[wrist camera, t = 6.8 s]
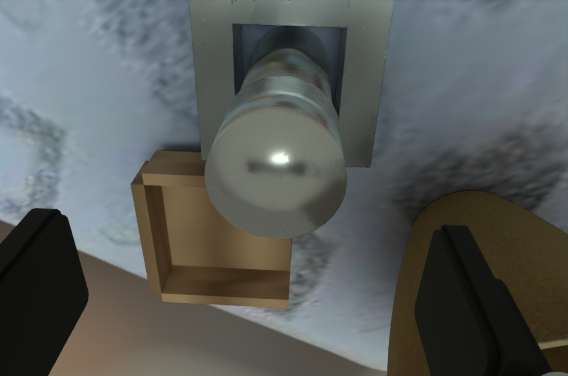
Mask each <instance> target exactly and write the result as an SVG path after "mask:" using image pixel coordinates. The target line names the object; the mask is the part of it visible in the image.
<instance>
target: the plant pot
mask: <svg viewBox="0 0 568 376" xmlns="http://www.w3.org/2000/svg"><path fill="white" fill-rule="evenodd" d="M444 224H446V225H466V226H468V228H469V229H470V231H471V233H472V235H473V237H474V239H475V241H476V243H477V244H478V246H479V248H480V250H481V252H482V254H483V256H484V258H485V260H486V262H487V264H488V265H489V267H490V269H491V271H492V273H493V275H494V277H495V279H500V280H502V281H503V282H504V283H505V285H506V286H507V288H508V290H509V292H510V293H511V295H512V297H513V299H514V301H515V303H516V304H517V306H518V308H519V310H520V312H521V314H522V316H523V317H524V319H525V321H526V323H527V325H528V327H529V328H530V330H531V332H532V334H533V336H534V338H535V340H536V341H537V343H538V345H539V347H540V349H541V351H542V352H543V354H544V356H545V358H546V360H547V362H548V364H549V365H550V367H551V369H552V371H553V372H563V373H567V374H568V234H567V233H565V232H564V231H562V230H560V229H559V228H557V227H555V226H554V225H552V224H550V223H549V222H547V221H545V220H543V219H542V218H540V217H538V216H537V215H535V214H533V213H531V212H529V211H527V210H525V209H524V208H522V207H520V206H518V205H516V204H514V203H512V202H509V201H507V200H505V199H503V198H501V197H498V196H496V195H493V194H491V193H487V192H483V191H476V190H470V191H460V192H455V193H451V194H448V195H445V196H443V197H441V198H439V199H437V200H435V201H434V202H432V203H431V204H430V205H428V206H427V207H426V208H425V209H424V210H423V211H422V212H421V213H420V214H419V216H418V217H417V219H416V221H415V223H414V225H413V227H412V230H411V233H410V236H409V239H408V242H407V245H406V248H405V252H404V256H403V260H402V263H401V267H400V272H399V277H398V282H397V287H396V292H395V298H394V304H393V312H392V319H391V328H390V338H389V349H388V367H387V376H431V375H430V371H429V367H428V364H427V360H426V356H425V353H424V349H423V346H422V342H421V338H420V335H419V331H418V327H417V324H416V320H415V314H414V309H415V302H416V298H417V294H418V290H419V286H420V282H421V278H422V274H423V270H424V266H425V262H426V258H427V254H428V250H429V246H430V242H431V238H432V234H433V232H434V230H440V228H441V227H442V225H444Z"/></svg>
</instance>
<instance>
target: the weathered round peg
mask: <svg viewBox="0 0 568 376" xmlns="http://www.w3.org/2000/svg"><path fill="white" fill-rule="evenodd" d="M205 185H206V189H207V192H208V195H209V197H210V200H211V202H212V203H213V205H214V207H215V208H216V209H217V211H218V212H219V213H220V214H221V215H222V216H223V217H224V218H225V219H226V220H227V221H228V222H230V223H231V224H232V225H234V226H235V227H237V228H239V229H240V230H242V231H245V232H247V233H249V234H252V235H256V236H259V237H264V238H272V239H285V238H293V237H297V236H301V235H304V234H307V233H309V232H311V231H314V230H316V229H317V228H319V227H320V226H322V225H323V224H325V223H326V222H327V221H328V220H329V219H330V218H331V217H332V216H333V215H334V214H335V212H336V211H337V210H338V208H339V206H340V205H341V203H342V201H343V198H344V195H345V191H346V186H347V175H346V167H345V160H344V153H343V145H342V138H341V131H340V124H339V119H338V115H337V112H336V110H335V108H334V106H333V104H332V98H331V89H330V80H329V72H328V63H327V55H326V51H325V48H324V46H323V44H322V42H321V41H320V39H319V38H318V37H317V36H316V35H315V34H314V33H313V32H311V31H310V30H308V29H306V28H304V27H301V26H290V25H284V26H280V27H277V28H275V29H272V30H271V31H269V32H268V33H267V34H266V35H265V36H264V37H263V38H262V39H261V41H260V42H259V44H258V46H257V48H256V50H255V53H254V56H253V58H252V61H251V63H250V66H249V69H248V71H247V74H246V76H245V79H244V82H243V84H242V87H241V89H240V92H239V93H238V94H237V95H236V96H235V97H234V99H233V100H232V102H231V103H230V105H229V107H228V109H227V111H226V114H225V116H224V119H223V121H222V124H221V126H220V128H219V131H218V133H217V136H216V138H215V140H214V143H213V145H212V148H211V150H210V153H209V155H208V158H207V161H206V166H205Z"/></svg>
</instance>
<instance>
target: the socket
mask: <svg viewBox="0 0 568 376" xmlns="http://www.w3.org/2000/svg"><path fill="white" fill-rule="evenodd" d="M393 4H394V0H189V6H190V18H191V31H192V43H193V56H194V68H195V80H196V93H197V105H198V118H199V130H200V142H201V155H202V160H207V158H208V155H209V153H210V150H211V148H212V145H213V143H214V140H215V138H216V136H217V133H218V131H219V128H220V126H221V124H222V121H223V119H224V116H225V114H226V111H227V109H228V107H229V105H230V103H231V102H232V100H233V99H234V97H235V96H236V95H237V94H238V93H239V92H240V89H241V87H242V84H243V64H242V24H262V25H290V26H317V27H342V34H341V45H340V56H339V68H338V79H337V90H336V101H335V110H336V112H337V115H338V119H339V124H340V131H341V138H342V145H343V153H344V160H345V167H366V168H370V165H371V158H372V151H373V144H374V137H375V130H376V123H377V116H378V109H379V102H380V95H381V88H382V81H383V74H384V67H385V60H386V53H387V46H388V39H389V32H390V25H391V18H392V11H393Z"/></svg>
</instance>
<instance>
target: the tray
mask: <svg viewBox="0 0 568 376" xmlns="http://www.w3.org/2000/svg"><path fill="white" fill-rule="evenodd" d="M206 161H207V160H202V155H201V152H179V151H157V150H156V152H155V154H154V155H153V157H152V158H151V160H150V161H146V162H145V163H144V165H143V166H142V168H141V169H140V171H139V172H138V174H137V175H136V177H135V178H134V180H133V181H132V183H131V189H132V195H133V200H134V206H135V211H136V217H137V222H138V228H139V233H140V239H141V244H142V250H143V256H144V261H145V267H146V272H147V278H148V283H149V288H150V293H161V294H162V299H163V301H164V302H182V303H201V304H219V305H237V306H255V307H274V308H288V298H289V280H290V260H291V238H285V239H272V238H264V237H259V236H256V235H252V234H249V233H247V232H245V231H242V230H240V229H239V228H237V227H235V226H234V225H232V224H231V223H230V222H228V221H227V220H226V219H225V218H224V217H223V216H222V215H221V214H220V213H219V212H218V211H217V209H216V208H215V207H214V205H213V203H212V202H211V200H210V197H209V195H208V192H207V189H206V185H205V166H206Z"/></svg>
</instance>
